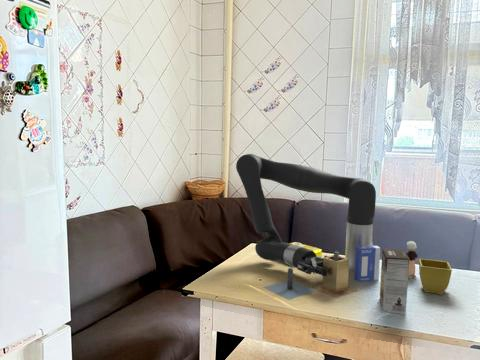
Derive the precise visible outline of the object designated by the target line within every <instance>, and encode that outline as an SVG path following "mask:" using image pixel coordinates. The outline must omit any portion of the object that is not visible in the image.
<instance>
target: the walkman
mask: <svg viewBox="0 0 480 360" xmlns="http://www.w3.org/2000/svg"><path fill="white" fill-rule="evenodd" d="M380 256H381V247H380V246H378V245H373V246H359V247H356V257H355V271H354V280H355V281H357V282H371V281H372V282H373V281H379V279H380V265H381V264H380V261H381V257H380Z"/></svg>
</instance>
